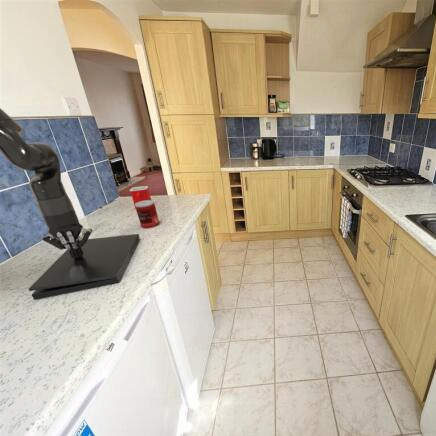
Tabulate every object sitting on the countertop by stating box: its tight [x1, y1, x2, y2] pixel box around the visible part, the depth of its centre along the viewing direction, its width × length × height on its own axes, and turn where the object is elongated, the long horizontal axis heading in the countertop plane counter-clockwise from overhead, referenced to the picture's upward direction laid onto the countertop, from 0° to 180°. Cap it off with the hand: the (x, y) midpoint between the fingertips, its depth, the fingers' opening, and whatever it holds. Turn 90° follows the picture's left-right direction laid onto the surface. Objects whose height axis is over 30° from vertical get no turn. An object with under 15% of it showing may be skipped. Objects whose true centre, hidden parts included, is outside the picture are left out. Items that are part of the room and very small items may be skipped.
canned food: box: [134, 199, 160, 229], centre depth 112 cm, size 8×8×11 cm
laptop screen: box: [28, 233, 140, 292], centre depth 84 cm, size 21×30×1 cm
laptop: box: [31, 235, 141, 301], centre depth 84 cm, size 21×30×2 cm
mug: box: [129, 185, 152, 210], centre depth 134 cm, size 12×8×11 cm
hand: (78, 257), depth 82 cm, fingers closed
